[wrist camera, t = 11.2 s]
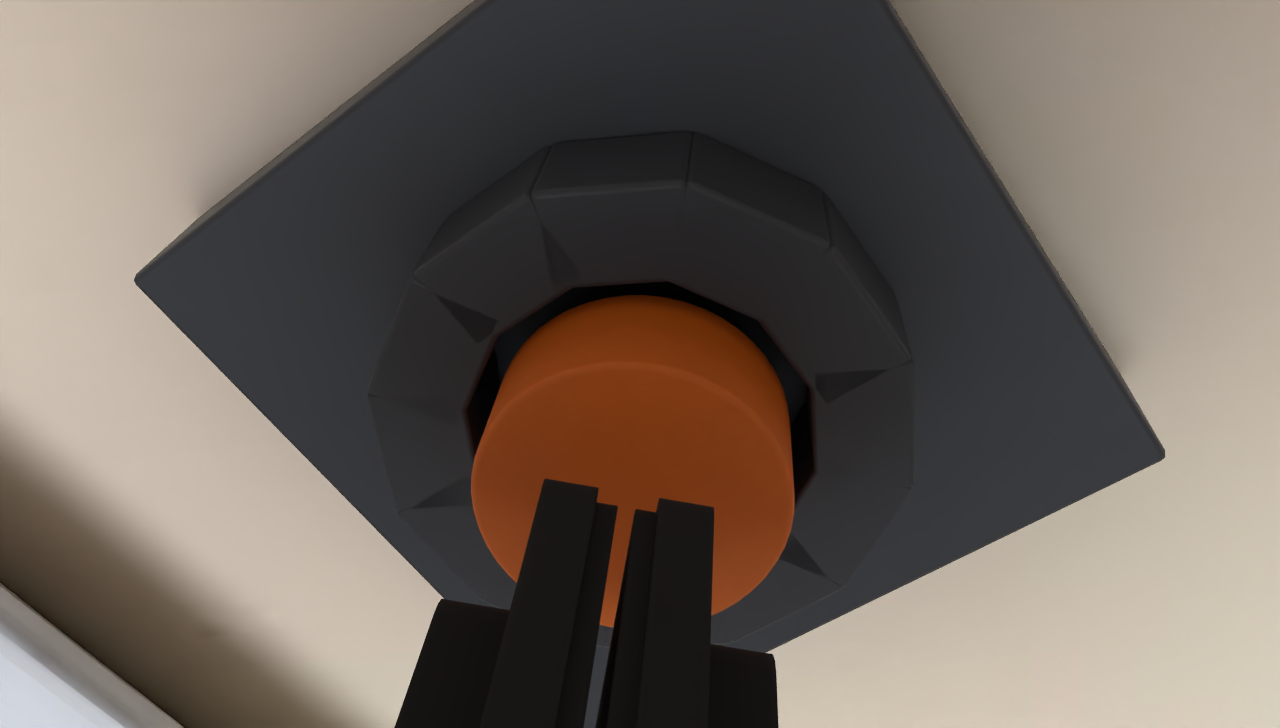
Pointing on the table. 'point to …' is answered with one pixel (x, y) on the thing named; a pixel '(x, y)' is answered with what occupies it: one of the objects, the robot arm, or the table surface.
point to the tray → (61, 679)
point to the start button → (642, 434)
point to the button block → (665, 281)
